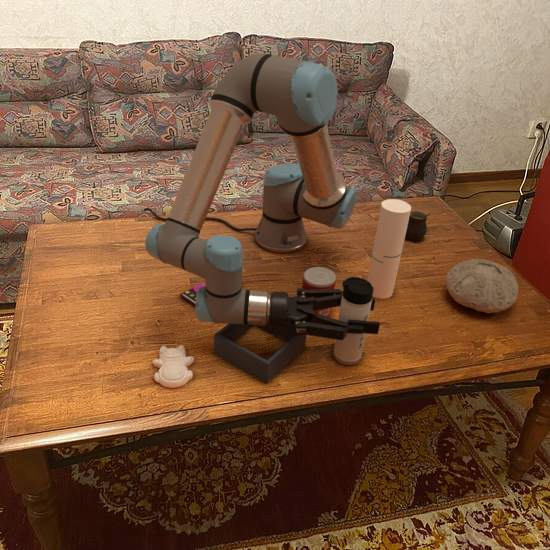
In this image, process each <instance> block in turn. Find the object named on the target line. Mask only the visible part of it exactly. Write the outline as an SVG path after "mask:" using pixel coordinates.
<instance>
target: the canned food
mask: <svg viewBox="0 0 550 550" xmlns="http://www.w3.org/2000/svg"><path fill="white" fill-rule="evenodd" d="M336 279H337V276H336V274H335V272H334V271H333V270H331V269H329V268H327V267H324V266H314V267H309V268H308V269H306V270H305V271H304V273H303V277H302V286H301V288H302V289H307V290H311V289H336V287H335V286H336V281H337V280H336ZM316 312H317V313H318V314H320V315H324V316H327V317H330V315H331V314H332V308H327V309H321V310H316ZM311 321H312V320H311Z"/></svg>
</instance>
